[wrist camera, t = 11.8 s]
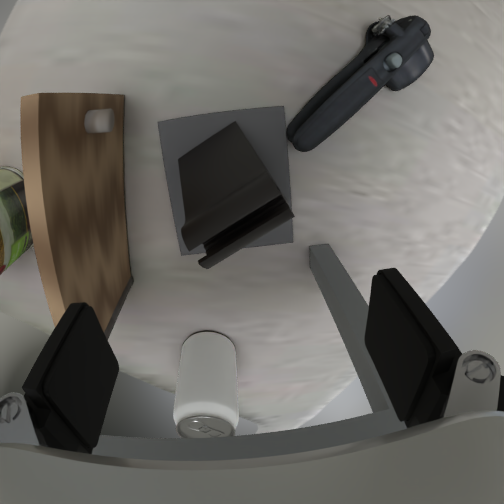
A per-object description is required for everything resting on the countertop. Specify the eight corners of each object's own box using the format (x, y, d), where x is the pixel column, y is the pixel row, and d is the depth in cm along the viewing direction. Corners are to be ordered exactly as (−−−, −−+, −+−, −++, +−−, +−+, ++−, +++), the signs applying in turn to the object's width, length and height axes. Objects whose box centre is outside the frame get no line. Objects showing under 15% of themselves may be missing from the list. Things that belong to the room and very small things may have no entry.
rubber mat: (283, 106, 26) (283, 106, 25) (292, 240, 32) (293, 242, 31) (158, 121, 26) (157, 121, 25) (181, 253, 31) (181, 255, 31)
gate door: (146, 287, 32) (110, 389, 20) (120, 286, 32) (74, 383, 19) (141, 93, 24) (65, 88, 11) (109, 96, 24) (18, 97, 11)
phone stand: (288, 203, 29) (322, 264, 19) (233, 236, 30) (236, 311, 20) (235, 120, 26) (240, 129, 15) (178, 158, 27) (144, 194, 16)
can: (206, 320, 35) (200, 405, 24) (247, 349, 37) (254, 431, 27) (171, 349, 37) (158, 430, 26) (211, 374, 39) (209, 453, 28)
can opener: (387, 7, 22) (416, -7, 17) (430, 60, 24) (463, 57, 19) (258, 114, 26) (265, 115, 21) (311, 168, 29) (329, 182, 24)
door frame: (328, 243, 32) (435, 425, 12) (328, 264, 33) (422, 447, 13) (98, 270, 32) (3, 443, 12) (104, 289, 33) (24, 463, 13)
